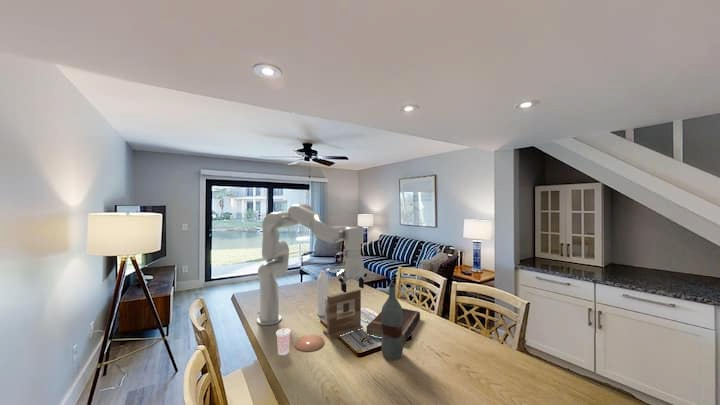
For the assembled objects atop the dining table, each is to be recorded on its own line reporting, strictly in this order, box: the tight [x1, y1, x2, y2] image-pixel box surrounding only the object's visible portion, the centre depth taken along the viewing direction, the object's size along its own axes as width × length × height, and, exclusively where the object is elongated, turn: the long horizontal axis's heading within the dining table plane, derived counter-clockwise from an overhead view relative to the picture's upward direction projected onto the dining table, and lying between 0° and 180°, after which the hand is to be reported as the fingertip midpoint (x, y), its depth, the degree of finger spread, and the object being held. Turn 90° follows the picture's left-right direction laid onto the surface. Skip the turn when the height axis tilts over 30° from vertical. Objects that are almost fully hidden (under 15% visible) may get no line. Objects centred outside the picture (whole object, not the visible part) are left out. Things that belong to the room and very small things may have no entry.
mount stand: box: [322, 288, 363, 340], centre depth 137 cm, size 10×18×20 cm, turn 124°
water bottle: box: [316, 268, 331, 317], centre depth 158 cm, size 9×6×25 cm
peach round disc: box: [294, 334, 325, 352], centre depth 125 cm, size 13×13×1 cm
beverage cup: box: [275, 319, 292, 356], centre depth 118 cm, size 6×6×14 cm
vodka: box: [380, 283, 404, 361], centre depth 116 cm, size 9×9×30 cm
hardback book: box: [366, 307, 421, 346], centre depth 141 cm, size 29×19×5 cm, turn 154°
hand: (352, 289), depth 129 cm, fingers open, 9 cm apart
